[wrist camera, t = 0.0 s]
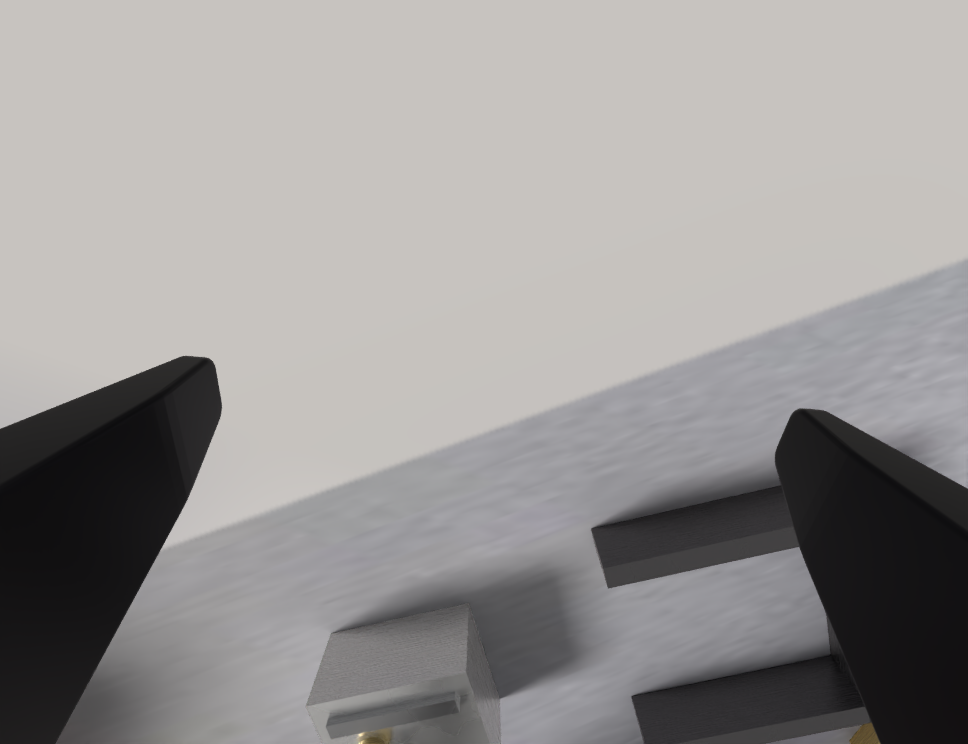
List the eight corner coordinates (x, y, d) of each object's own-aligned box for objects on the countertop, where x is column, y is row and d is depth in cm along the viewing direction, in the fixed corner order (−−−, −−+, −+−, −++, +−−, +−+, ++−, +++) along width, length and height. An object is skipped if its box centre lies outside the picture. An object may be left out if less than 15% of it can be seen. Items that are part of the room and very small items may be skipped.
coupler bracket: (635, 711, 31) (650, 765, 28) (591, 528, 28) (603, 568, 25) (919, 654, 30) (965, 704, 27) (906, 457, 26) (957, 489, 24)
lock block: (369, 723, 31) (345, 831, 26) (331, 630, 30) (298, 727, 24) (499, 696, 31) (502, 801, 25) (468, 600, 29) (465, 692, 24)
